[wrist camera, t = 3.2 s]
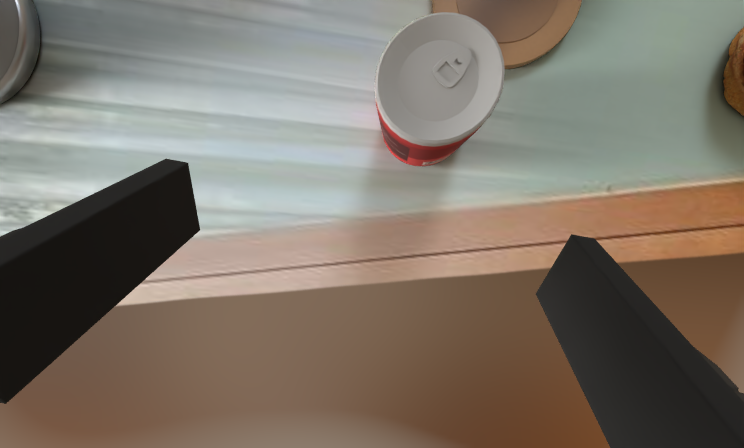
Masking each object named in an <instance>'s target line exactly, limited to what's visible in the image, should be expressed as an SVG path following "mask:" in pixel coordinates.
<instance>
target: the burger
mask: <svg viewBox="0 0 744 448" xmlns="http://www.w3.org/2000/svg"><path fill="white" fill-rule="evenodd" d="M729 56H730V57H729V60H728V62H727V65H726V67H725V70H724V75H723V76H724V77H725V79H724V80H723V82H724V87H725V91H724V96H725V98H726V100H727V102H728V103H729V104H730V105H731V106H732V107H733V108H734V109H736V110H737V111H738V112H739V113H741V114H742V115H743V116H744V27H743V28H742V29H741V30H740V31H739V32H738V34H737V35H736V37H735V38H734V39H733V40H732V42H731V45H730V48H729Z"/></svg>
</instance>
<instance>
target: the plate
mask: <svg viewBox="0 0 744 448" xmlns="http://www.w3.org/2000/svg"><path fill="white" fill-rule="evenodd" d="M581 2H582V0H432V8H433V14H434V13H440V12H448V13H458V14H462V15H466V16H468V17H470V18H472V19H474V20H476V21H478V22H479V23H481V24H482V25H483V26H484V27H486V28H487V29H488V30H489V31H490V33H491V34H492V35H493V36H494V38H495V39H496V41H497V43H498V45H499V47H500V49H501V52H502V56H503V60H504V69H512V68H516V67H521V66H524V65H526V64H529V63H531V62H533V61H535V60H537V59H539V58H541V57H542V56H543V55H545V54H546V53H548V52H549V51H550V50H551V49H552V48H553V47H555V46H556V45H557V44H558V43H559V42H560V40H561V39H562V38H563V37H564V36H565V35H566V33H567V32H568V31H569V29H570V28H571V26H572V24H573V23H574V21H575V19H576V17H577V14H578V12H579V9H580V6H581Z"/></svg>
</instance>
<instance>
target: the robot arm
mask: <svg viewBox="0 0 744 448" xmlns="http://www.w3.org/2000/svg"><path fill="white" fill-rule="evenodd" d="M39 46H40V26H39V20H38V15H37V12H36V9H35V6H34V3H33V1H32V0H0V104H1V103H3V102H5V101H6V100H8V99H10V98H11V97H12V96H14V95H15V94H16V93H17V92H18V91H19V90H20V89H21V88H22V87H23V86H24V84H25V83H26V82H27V80H28V79H29V77H30V75H31V73H32V71H33V69H34V67H35V64H36V61H37V57H38V53H39ZM199 230H200V227H199V221H198V216H197V210H196V205H195V199H194V194H193V188H192V183H191V177H190V172H189V166H188V163H186V162H180V161H175V160H170V159H165V160H163V161H161V162H158V163H156V164H154V165H152V166H150V167H148V168H146V169H144V170H142V171H140V172H138V173H136V174H134V175H132V176H130V177H127V178H125V179H123V180H121V181H119V182H117V183H115V184H113V185H111V186H109V187H107V188H105V189H103V190H101V191H98V192H96V193H94V194H92V195H90V196H88V197H86V198H84V199H82V200H80V201H78V202H76V203H74V204H72V205H69V206H67V207H65V208H63V209H61V210H59V211H57V212H55V213H53V214H51V215H49V216H47V217H45V218H43V219H41V220H38V221H36V222H34V223H32V224H30V225H28V226H26V227H24V228H21V229H17V230H14V231H12V232H9V233H7V234H5V235H3V236H1V237H0V403H4V404H6V403H7V402H8V401H9V400H11V399H12V398H13V397H14V396H15V395H16V394H17V393H18V392H19V391H21V390H22V389H23V388H24V387H25V386H26V385H27V384H28V383H30V382H31V381H32V380H33V379H34V378H35V377H36V376H37V375H38V374H40V373H41V372H42V371H43V370H44V369H45V368H46V367H47V366H48V365H50V364H51V363H52V362H53V361H54V360H55V359H56V358H57V357H59V356H60V355H61V354H62V353H63V352H64V351H65V350H66V349H67V348H69V347H70V346H71V345H72V344H73V343H74V342H75V341H76V340H78V338H80V337H81V336H82V335H83V334H84V333H85V332H87V331H88V330H89V329H90V328H91V327H92V326H93V325H94V324H95V323H97V322H98V321H99V320H100V319H101V318H102V317H103V316H104V315H106V313H108V312H109V311H110V310H111V309H112V308H113V307H114V306H116V305H117V304H118V303H119V302H120V301H121V300H122V299H123V298H125V297H126V296H127V295H128V294H129V293H130V292H131V291H132V290H133V289H135V288H136V287H137V286H138V285H139V284H140V283H141V282H142V281H144V280H145V279H146V278H147V277H148V276H149V275H150V274H151V273H152V272H154V271H155V270H156V269H157V268H158V267H159V266H160V265H161V264H163V263H164V262H165V261H166V260H167V259H168V258H169V257H170V256H171V255H173V254H174V253H175V252H176V251H177V250H178V249H179V248H180V247H181V246H183V245H184V244H185V243H186V242H187V241H188V240H189V239H190V238H192V237H193V236H194V235H195V234H196V233H197V232H198V231H199ZM536 295H537V297H538V299H539V302H540V304H541V306H542V308H543V310H544V312H545V314H546V316H547V318H548V320H549V322H550V324H551V326H552V328H553V330H554V332H555V335H556V337H557V339H558V341H559V343H560V344H561V347H562V349H563V351H564V353H565V355H566V357H567V359H568V361H569V363H570V365H571V367H572V370H573V372H574V374H575V376H576V378H577V380H578V382H579V384H580V386H581V388H582V390H583V392H584V394H585V396H586V398H587V400H588V402H589V405H590V407H591V409H592V410H593V413H594V415H595V417H596V419H597V421H598V423H599V425H600V427H601V429H602V431H603V433H604V435H605V437H606V440H607V442H608V444H609V446H610V448H744V394H743V393H740V392H739V391H738V387H737V386H736V385H735V384H734V383H733V382H732V381H731V380H730V379H729V378H728V376H727V375H726V374H725V373H724V372H723V371H722V370H721V369H720V368H719V367H718V366H717V365H716V364H715V363H713V362H712V361H711V360H710V359H708V358H707V357H706V356H704V355H703V354H702V353H701V352H699V351H698V350H697V349H695V348H694V347H693V346H692V345H691V344H690V343H689V341H688V340H687V339H686V338H685V337H684V336H683V335H682V334H681V333H680V332H679V331H678V330H677V328H676V327H675V326H674V325H673V324H672V323H671V322H670V321H669V320H668V319H667V318H666V316H665V315H664V314H663V313H662V312H661V311H660V310H659V309H658V308H657V306H656V305H655V304H654V303H653V302H652V301H651V300H650V299H649V298H648V297H647V296H646V294H644V292H643V291H642V290H641V289H640V288H639V287H638V286H637V285H636V284H635V283H634V282H633V280H632V279H631V278H630V277H629V276H628V275H627V274H626V273H625V272H624V270H623V269H622V268H621V267H620V266H619V265H618V264H617V263H616V262H615V261H614V259H613V258H612V257H611V256H610V255H609V254H608V253H607V252H606V251H605V250H604V249H603V247H602V246H601V245H600V244H599V243H598V242H597V241H596V240H595V239H593V238H588V237H583V236H577V235H572V234H571V236H570V238H569V239H568V241H567V243H566V244H565V246H564V248H563V249H562V251H561V253H560V254H559V256H558V258H557V259H556V261H555V263H554V264H553V266H552V268H551V269H550V271H549V273H548V275H547V276H546V278H545V279H544V281H543V283H542V284H541V286H540V288H539V289H538V291H537V293H536Z"/></svg>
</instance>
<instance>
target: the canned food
mask: <svg viewBox="0 0 744 448" xmlns="http://www.w3.org/2000/svg"><path fill="white" fill-rule="evenodd" d="M504 77H505V69H504V60H503V56H502V52H501V49H500V47H499V45H498V43H497V41H496V39H495V38H494V36H493V35H492V34H491V33H490V31H489V30H488V29H487V28H486V27H484V26H483V25H482V24H481V23H479V22H478V21H476V20H474V19H472V18H470V17H468V16H466V15H462V14H458V13H448V12H440V13H434V14H428V15H426V16H423V17H420V18H418V19H416V20H414V21H412V22H411V23H409V24H407V25H406V26H404V27H403V28H402V29H401V30H400V31H399V32H397V33H396V34H395V35H394V37H393V38H392V39H391V40H390V42H389V43H388V44H387V45H386V47H385V49H384V51H383V53H382V55H381V57H380V60H379V63H378V66H377V69H376V76H375V85H374V87H375V99H376V106H377V111H378V115H379V120H380V124H381V129H382V134H383V137H384V141H385V143H386V145H387V147H388V149H389V150H390V151H391V153H392V154H393V155H394V156H395V157H396V158H398V159H399V160H401V161H402V162H404V163H406V164H410V165H414V166H428V165H433V164H436V163H439V162H441V161H442V160H444V159H446V158H447V157H448V156H450V155H451V154H452V153H453V152H454V151H455V150H457V149H458V148H459V147H460V146H461V145H462V144H463V143H464V142H465V141H466V140H467V139H468V138H470V137H471V136H472V135H473V134H474V133H475V132H476V131H477V130H478V129H479V128H480V127H481V126H482V125H483V123H484V122H485V121H486V120H487V119H488V117H489V116H490V115H491V113H492V111H493V110H494V108H495V106H496V104H497V103H498V101H499V98H500V95H501V92H502V89H503V84H504Z"/></svg>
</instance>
